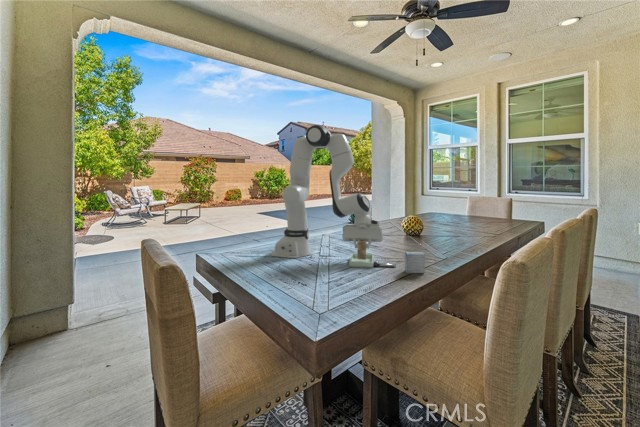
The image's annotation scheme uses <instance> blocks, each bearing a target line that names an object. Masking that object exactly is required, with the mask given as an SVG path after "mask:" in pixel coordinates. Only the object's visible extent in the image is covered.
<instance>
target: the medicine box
mask: <svg viewBox="0 0 640 427" xmlns="http://www.w3.org/2000/svg"><path fill="white" fill-rule="evenodd" d="M425 270H426V254H425V253H424V251H405V253H404V271H405V273H406V274H425Z"/></svg>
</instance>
